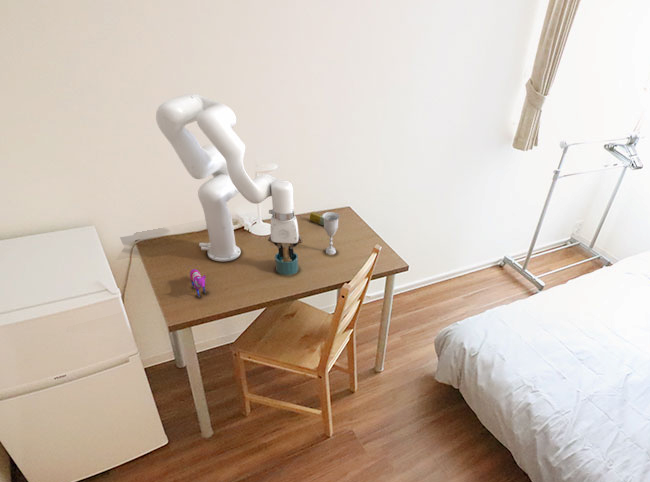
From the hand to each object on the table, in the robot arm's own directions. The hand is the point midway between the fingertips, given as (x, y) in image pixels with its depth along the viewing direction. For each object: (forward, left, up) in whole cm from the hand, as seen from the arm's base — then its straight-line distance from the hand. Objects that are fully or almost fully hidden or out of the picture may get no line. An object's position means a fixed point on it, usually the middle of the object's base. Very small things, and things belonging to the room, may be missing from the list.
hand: (286, 255), depth 184 cm
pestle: (0, 0, -7) cm, 7 cm away
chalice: (+17, +15, -7) cm, 24 cm away
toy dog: (-30, -16, -7) cm, 34 cm away
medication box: (+12, +41, -7) cm, 43 cm away
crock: (0, 0, -7) cm, 7 cm away
